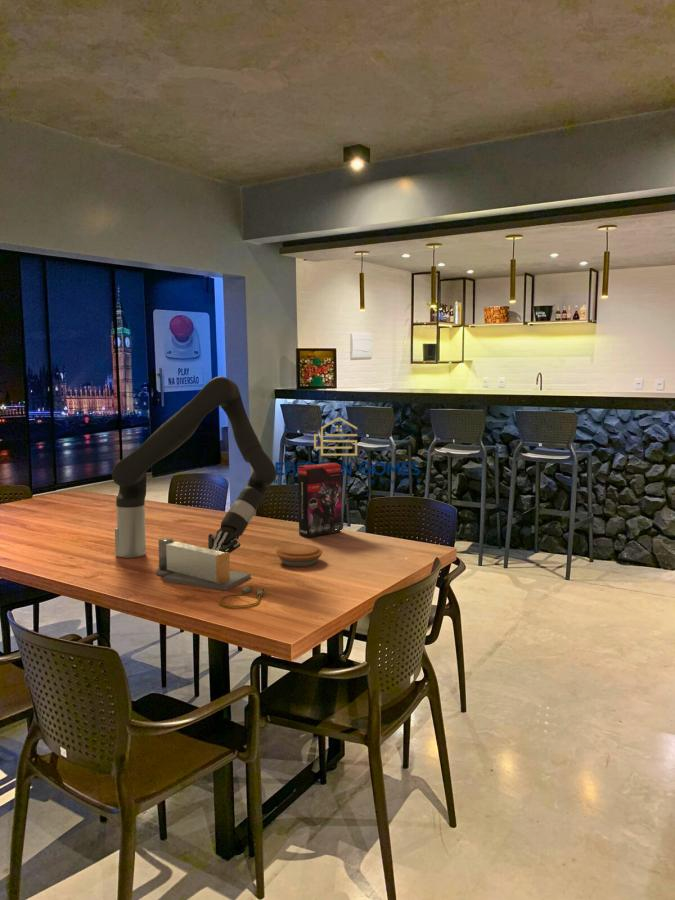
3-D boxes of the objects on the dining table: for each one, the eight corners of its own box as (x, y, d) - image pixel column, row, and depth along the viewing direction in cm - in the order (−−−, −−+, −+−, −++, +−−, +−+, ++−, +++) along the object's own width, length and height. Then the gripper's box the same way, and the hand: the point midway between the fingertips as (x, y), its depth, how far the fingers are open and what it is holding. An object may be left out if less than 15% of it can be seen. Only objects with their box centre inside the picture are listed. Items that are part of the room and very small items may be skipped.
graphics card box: (307, 538, 259) (307, 467, 255) (296, 535, 264) (297, 465, 261) (342, 532, 269) (343, 464, 266) (331, 529, 274) (332, 462, 271)
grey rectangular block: (156, 568, 212) (155, 540, 211) (167, 565, 216) (166, 537, 215) (218, 585, 197) (218, 554, 196) (229, 581, 200) (229, 551, 199)
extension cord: (280, 599, 191) (280, 592, 190) (235, 613, 179) (235, 606, 179) (252, 589, 199) (252, 583, 199) (207, 602, 188) (207, 595, 187)
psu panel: (144, 577, 208) (144, 573, 207) (172, 566, 220) (172, 561, 220) (226, 590, 197) (226, 585, 196) (250, 577, 209) (250, 572, 209)
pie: (305, 553, 238) (305, 539, 237) (331, 563, 225) (331, 549, 225) (267, 560, 229) (267, 546, 228) (292, 571, 216) (292, 556, 216)
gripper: (217, 508, 215) (187, 554, 207) (246, 513, 207) (217, 561, 199) (230, 521, 220) (201, 567, 212) (259, 527, 212) (231, 575, 203)
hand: (209, 564), depth 205 cm, fingers closed
